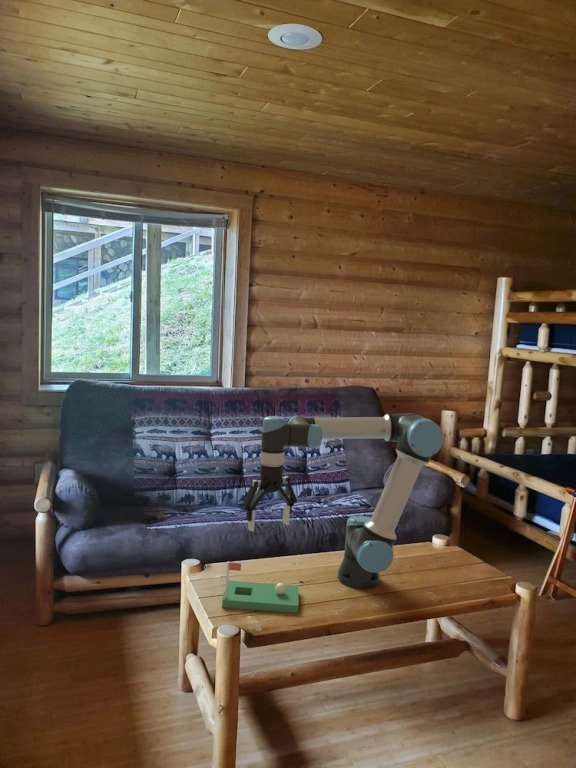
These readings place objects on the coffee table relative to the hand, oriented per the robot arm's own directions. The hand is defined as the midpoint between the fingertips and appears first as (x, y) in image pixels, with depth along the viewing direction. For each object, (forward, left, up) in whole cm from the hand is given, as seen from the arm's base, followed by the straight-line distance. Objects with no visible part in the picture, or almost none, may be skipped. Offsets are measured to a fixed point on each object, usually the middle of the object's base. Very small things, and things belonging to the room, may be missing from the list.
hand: (268, 527), depth 194 cm
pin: (+10, +10, -21) cm, 25 cm away
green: (+1, +4, -23) cm, 24 cm away
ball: (-5, +4, -19) cm, 20 cm away
